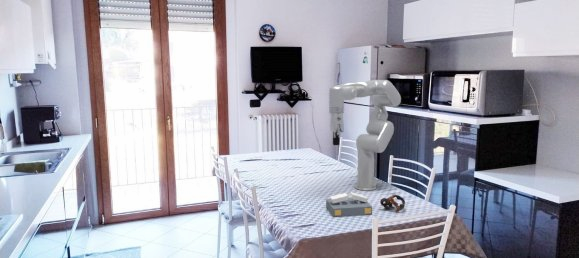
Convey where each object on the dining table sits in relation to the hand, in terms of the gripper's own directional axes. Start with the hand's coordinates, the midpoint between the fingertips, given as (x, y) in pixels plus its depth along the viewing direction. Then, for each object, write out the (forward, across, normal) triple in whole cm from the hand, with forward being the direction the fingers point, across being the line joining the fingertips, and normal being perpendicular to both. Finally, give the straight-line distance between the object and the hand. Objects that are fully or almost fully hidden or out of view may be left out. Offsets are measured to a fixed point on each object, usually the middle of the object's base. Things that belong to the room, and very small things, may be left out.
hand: (336, 144), depth 207 cm
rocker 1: (+24, -20, +4) cm, 31 cm away
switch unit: (+29, -20, -1) cm, 35 cm away
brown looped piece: (+29, -22, -22) cm, 43 cm away
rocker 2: (+24, -20, -6) cm, 31 cm away
